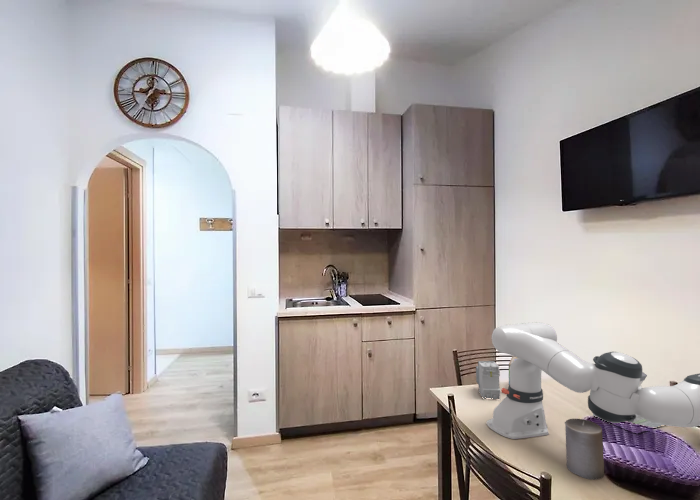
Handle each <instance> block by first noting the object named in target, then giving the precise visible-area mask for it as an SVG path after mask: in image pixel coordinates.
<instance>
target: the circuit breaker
mask: <svg viewBox="0 0 700 500" xmlns="http://www.w3.org/2000/svg"><path fill="white" fill-rule="evenodd" d="M499 368H500V366H499V364H497V362H495V361H494V360H493V361H492V360H491V361H490V360H489V361H485V360H484V361H483V360H481V361H477V366H475V378H476V379H475V380H476V383H477V385H478V393H479V392H480V394H481V395H480V394H479V395H480V396H482V397H483V398H484V399H486V398H491V399H492V398H493V399H497V398H498V399H500V400H501V398H500V397H501V389H500V376H501V374H500V372H501V370H500V369H499ZM482 397H481V398H482ZM485 397H486V398H485ZM483 398H482V399H483Z"/></svg>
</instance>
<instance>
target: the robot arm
mask: <svg viewBox="0 0 700 500" xmlns="http://www.w3.org/2000/svg"><path fill="white" fill-rule="evenodd" d="M491 342H492V345H493V347H494V349H495V350H497V352H499V353H501V354H506V355H509V356H510V355H511V356H512V357H518V358H517V359H516V360H515V361H514V362H512V364H511V365H510V385H509V384H508V388H506V387H502V388H501V389H500V393H502V394H504V395H506V396H505V397H504V398H503V399H502V400H501V402H499V404H498V405H496V406H495V407H494V409H493V413H492V418H490V419H488V420H486V425H487V427H488V428H490V429H491V430H492V431H493V432H495V433H497V434H498V435H501V436H503V437H505V438H508V439H512V440H517V439H526V438H533V437H542V436H549V435H550V433H549V429H548V424H547V421H546V413H545V409H544V405H543V404H544V403H543V400H544V391H543V390H544V389H543V388H542V372H543V373H545V374H546V375H548V376H549V377H550V378H552V379H553V380H554V381H555V382H557V383H558V384H560V385H562V386H563V387H566V388H567V389H568V390H570V391H572V392H575V393H578V394H582V393H583V394H584V393H587V392H589V391H590V392H589V395H588V396H587V407H588V410H589V411H591V413H592V415H593V414H594V415H596V416H597V417H599V418H600V419H602V420H601V421H603V420H605V421H607V422H612V423H620V422H625V421H633V420H634V419H635V418H636V415H635V414H637V415H640V416H641V417H643V418H644V419H646V420H648V421H651V422H654V423H658V424H662V425H666V426H669V427H677V428H678V427H679V428H695V427H699V426H700V373H695V374H691V375H687V376H686V377H685V378H683V380H682V381H680V382H679V383H677V384H675V385H655V386H653V385H652V386H645V387H643V386H642V387H639V383H640V378H641V377H642V372H643V364H642V363H640V361H638V359H636V358H634V357H633V356H631V355H629V354H627V353H623V352H620V351H619V352H618V351H609V352H608V351H607V352H604V353H602V354H601V355H597V356H594V357H593V358H592V362H593V363H592V362H588V361H586V360H584V359H582V358H581V357H580V356H578V355H577V354H576V353H574V352H573V351H571V350H570V349H568V348H566V347H565V346H563V345H562V344H560V342H558V335H557V332H556V330H555V328H554V326H552V325H551V324H548V323H544V322H537V321H536V322H535V321H534V322H523V323H522V322H521V323H512V324H511V323H510V324H509V323H508V324H504V325H501V326H497V327H495V328H494V329H493V331H492V334H491ZM600 419H599V420H600ZM605 421H604V422H605ZM607 422H606V423H607Z"/></svg>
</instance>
